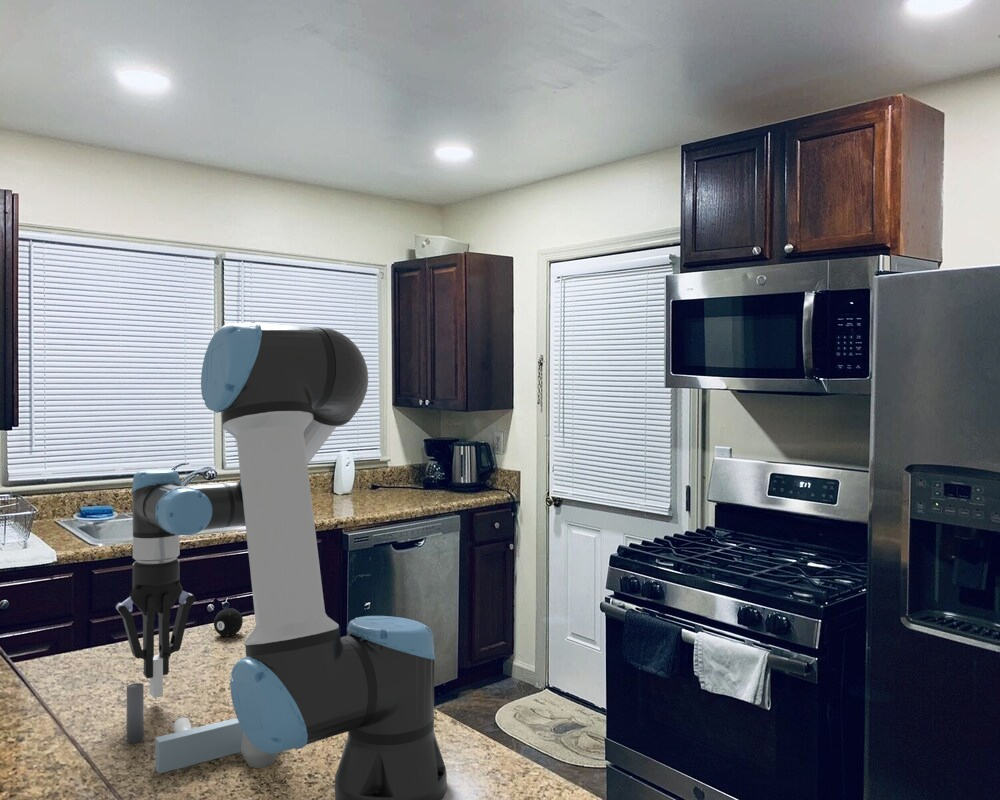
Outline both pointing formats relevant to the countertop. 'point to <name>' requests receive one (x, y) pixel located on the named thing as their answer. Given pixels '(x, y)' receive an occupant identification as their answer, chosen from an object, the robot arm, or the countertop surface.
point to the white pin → (182, 725)
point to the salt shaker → (256, 754)
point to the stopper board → (197, 745)
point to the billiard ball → (228, 622)
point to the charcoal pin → (135, 713)
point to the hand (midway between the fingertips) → (156, 694)
